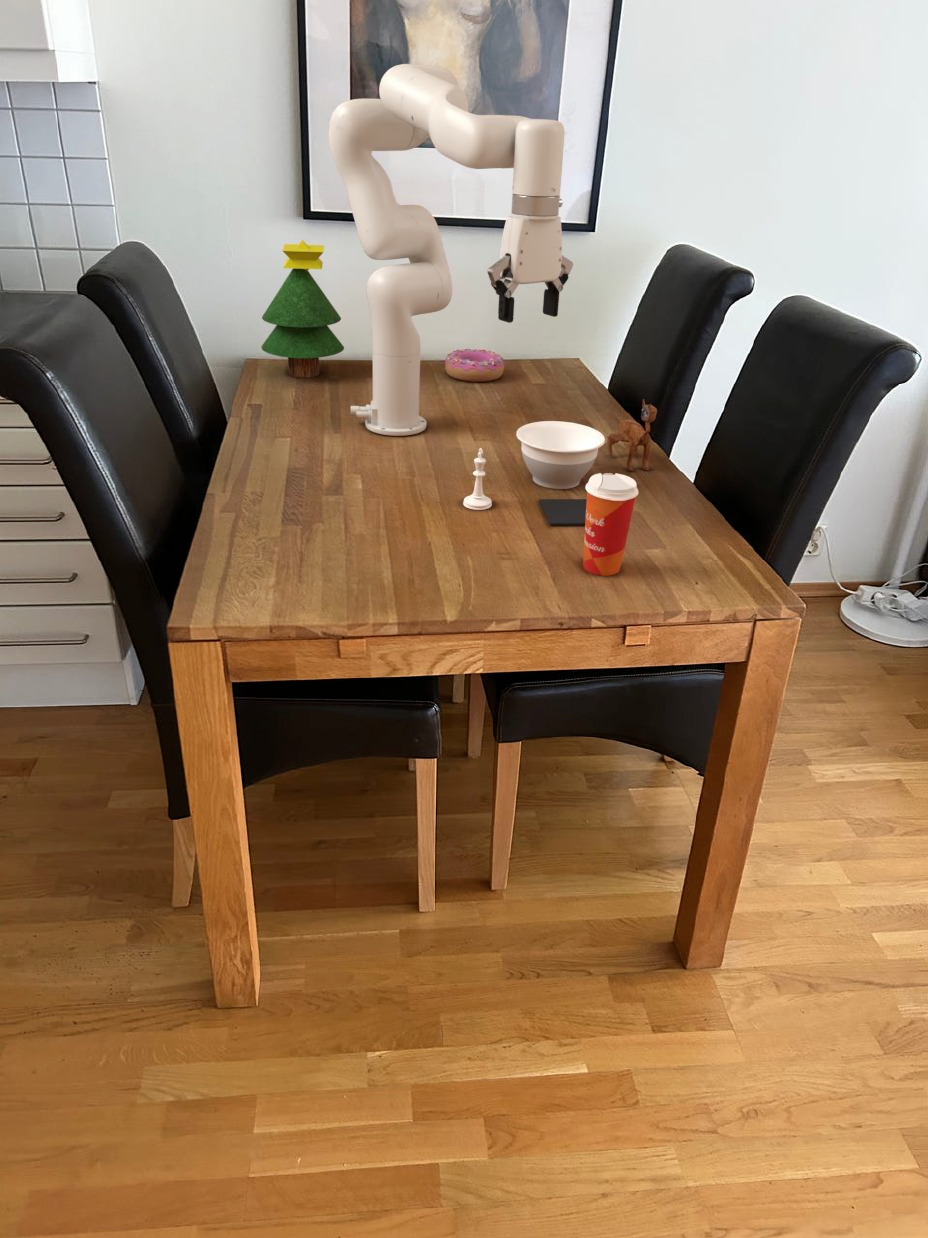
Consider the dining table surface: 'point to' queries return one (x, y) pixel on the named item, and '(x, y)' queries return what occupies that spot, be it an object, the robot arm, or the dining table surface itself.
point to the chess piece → (478, 487)
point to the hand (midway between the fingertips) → (528, 317)
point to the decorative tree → (302, 315)
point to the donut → (474, 365)
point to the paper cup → (607, 521)
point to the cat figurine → (635, 436)
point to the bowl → (559, 452)
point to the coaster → (565, 511)
